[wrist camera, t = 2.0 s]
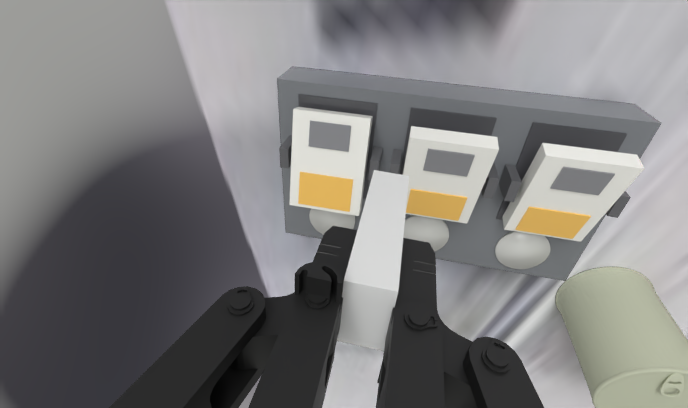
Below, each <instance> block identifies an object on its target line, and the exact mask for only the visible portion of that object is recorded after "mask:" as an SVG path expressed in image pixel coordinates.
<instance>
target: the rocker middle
mask: <svg viewBox="0 0 688 408" xmlns="http://www.w3.org/2000/svg"><path fill="white" fill-rule="evenodd" d="M498 151H499V145H498V138H497V137H494V136H486V135H478V134H470V133H462V132H454V131H446V130H439V129H431V128H423V127H415V126H411V130H410V136H409V141H408V147H407V152H406V158H405V163H404V169H403V174H402V175H407V176H409V182H408V193H407V204H406V214H410V215H416V216H422V217H429V218H435V219H441V220H447V221H454V222H460V223H466V224H467V223H468V220H469V218H470V216H471V213H472V211H473V209H474V206H475V204H476V202H477V200H478V197H479V195H480V193H481V190H482V188H483V186H484V183H485V181H486V179H487V176H488V174H489V172H490V169H491V167H492V165H493V162H494V160H495V158H496V155H497V153H498Z"/></svg>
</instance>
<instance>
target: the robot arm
mask: <svg viewBox="0 0 688 408" xmlns="http://www.w3.org/2000/svg"><path fill="white" fill-rule="evenodd" d="M408 182H409V176H407V175H401V174H395V173H389V172H383V171H377V170H374V172H373V175H372V179H371V183H370V186H369V190H368V194H367V197H366V201H365V205H364V208H363V212H362V216H361V219H360V223H359V227H358V230H354V229H349V228H343V227H338V226H332V227H331V228H330V229H329V230H327V231H326V232H325V233H324V235H323V238H322V240H321V243H320V245H319V248H318V250H317V253H316V255H315V258H314V260H313V262H312V263H308V264H305V265H304V266H302V267H300V268H299V269H298V270H297V272H296V273H295V292H294V293H293V294H290V295H287V296H282V297H271V298H264V296H263V294H262V293H261V292H260V291H258V290H257V289H255V288H251V287H237V288H234V289H231V290H229V291H228V292H226V293H225V294H223V295H222V296H221V297H220V298H219V299H218V300H217V301H216V302H215V303H214V304H213V305H212V306H211V307H210V308H209V309H208V310H207V311H206V312H205V313H204V314H203V315H202V316H201V317H200V318H199V319H198V320H197V321H196V322H195V323H194V324H193V325H192V326H191V327H190V328H189V329H188V330H187V331H186V332H185V333H184V334H183V335H182V336H181V337H180V338H179V339H178V340H177V341H176V342H175V343H174V344H173V345H172V346H171V347H170V348H169V349H168V350H167V351H166V352H165V353H164V354H163V355H162V356H161V357H160V358H159V359H158V360H157V361H156V362H155V363H154V364H153V365H152V366H151V367H150V368H149V369H148V370H147V371H146V372H145V373H144V374H143V375H142V376H141V377H140V378H139V379H138V380H137V381H136V382H135V383H134V384H133V385H132V386H131V387H130V388H129V389H127V390H126V392H124V394H123V395H122V396H121V397H119V399H117V401H115V402H114V404H112V405H111V406H110V407H109V408H239V406H240V405H241V403H242V402H243V400H244V399H245V398H246V396H247V395H248V393H249V392H250V390H251V389H252V387H253V386H254V385H255V383H256V382H257V380H258V379H259V378H260V376H261V375H262V376H261V379H260V381H259V383H258V386H257V388H256V391H255V393H254V396H253V398H252V400H251V403H250V405H249V408H322V405H323V401H324V397H325V393H326V389H327V384H328V380H329V376H330V372H331V368H332V364H333V360H334V352H335V346H336V342H337V341H339V342H343V343H347V344H352V345H356V346H361V347H365V348H370V349H374V350H378V351H383V352H384V356H383V362H382V366H381V370H380V374H379V378H378V382H377V383H379V387H378V395H377V403H376V408H544V407H543V404H542V402H541V400H540V398H539V396H538V394H537V392H536V390H535V388H534V386H533V384H532V382H531V380H530V378H529V376H528V374H527V372H526V370H525V368H524V366H523V363H522V361H521V360H520V358H519V357H518V355H517V354H516V352H515V351H514V350H513V349H512V348H511V347H509V346H508V345H507V344H506V343H504V342H502V341H500V340H498V339H496V338H490V337H482V338H477V339H476V340H475V341H473V342H472V341H470V340H468V339H466V338H464V337H462V336H460V335H458V334H456V333H455V332H453V331H451V330H450V329H449V328H448V327H447V326H446V325H445V324H444V323H443V322H442V320H441V319H440V317H439V315H438V312H437V300H436V275H435V274H436V266H435V264H436V262H435V252H434V250H433V248H432V247H431V245H430V243H429V242H423V241H418V240H413V239H407V238H403V236H404V225H405V214H406V204H407V193H408Z"/></svg>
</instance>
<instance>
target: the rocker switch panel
mask: <svg viewBox="0 0 688 408" xmlns="http://www.w3.org/2000/svg"><path fill="white" fill-rule="evenodd" d="M277 87H278V105H279V123H280V140H281V147H280V165H281V168H282V176H283V194H284V212H285V230H286V233H292V234H297V235H303V236H309V237H315V238H321V239H322V238H323V235H324V233H325V232H326V231H327V230H329V229H330V228H331V227H332V226H338V227H343V228H349V229H354V230H358V227H359V223H360V219H361V216H362V212H363V208H364V205H365V201H366V197H367V194H368V190H369V186H370V183H371V179H372V175H373V172H374V170H377V171H383V172H389V173H395V174H401V175H402V174H403V169H404V163H405V158H406V152H407V147H408V141H409V136H410V130H411V126H415V127H423V128H431V129H439V130H446V131H454V132H462V133H470V134H478V135H486V136H494V137H497V138H498V145H499V151H498V153H497V155H496V158H495V160H494V162H493V165H492V167H491V169H490V172H489V174H488V176H487V179H486V181H485V183H484V186H483V188H482V190H481V193H480V195H479V197H478V200H477V202H476V204H475V206H474V209H473V211H472V213H471V216H470V218H469V220H468V223H467V224H466V223H460V222H454V221H447V220H441V219H435V218H429V217H422V216H416V215H410V214H405V225H404V236H403V238H407V239H413V240H418V241H423V242H429V243H430V245H431V247H432V248H433V250H434V252H435V258H436V259H442V260H447V261H453V262H459V263H465V264H471V265H476V266H482V267H488V268H494V269H499V270H505V271H511V272H517V273H523V274H528V275H534V276H540V277H546V278H551V279H557V280H563V281H566V279H567V277H568V276H569V274H570V272H571V271H572V269H573V268H574V266H575V264H576V263H577V261H578V259H579V258H580V256H581V254H582V253H583V251H584V249H585V248H586V246H587V245H588V243H589V241H590V240H591V238H592V236H593V235H594V233H595V231H596V230H597V228H598V227H599V225H600V223H601V222H602V220H603V218H604V217H605V215H606V214H607V216H611V217H617V218H618V216H619V215H620V213H621V212H622V210H623V209H624V207H625V205H626V204H627V202H628V201H629V199H630V196H629V195H628V194H627V193H626V192H624V193H623V194H622V195H621V196H620V197H619V199H618V200H617V201H616V202H615V203H614V204H613V205H612V207H611V208H610V209H609V210H608V211H607V212H606V213H605V215H604V216H603V217H602V218H601V219H600V220H599V221H598V223H597V224H596V225H595V226H594V227H593V228H592V229H591V231H590V232H589V233H588V234H587V235H586V236H585V237H584V239H583V240H582V241H581V242H580V241H573V240H567V239H561V238H554V237H548V236H542V235H535V234H529V233H523V232H517V231H510V230H504V225H503V215H504V213H505V211H506V209H507V207H508V206H509V204H510V202H514V200H515V198H516V195H517V193H518V190H519V188H520V185H521V183H522V180H523V178H524V176H525V174H526V172H527V170H528V169H529V167H530V165H531V163H532V161H533V159H534V157H535V156H536V154H537V152H538V150H539V148H540V146H541V144H542V143H549V144H557V145H565V146H573V147H581V148H588V149H596V150H604V151H612V152H620V153H628V154H636V155H638V157H639V159H640V158H641V156H642V154H643V153H644V151H645V150H646V148H647V146H648V145H649V143H650V141H651V140H652V138H653V136H654V135H655V133H656V131H657V130H658V128H659V127H660V125H661V122H659V121H658V120H656V119H655V118H654V117H652V116H651V115H649V114H648V113H647V112H645V111H644V110H642V109H641V108H639V107H638V106H637V105H635V104H630V103H621V102H612V101H603V100H594V99H585V98H575V97H566V96H557V95H548V94H539V93H530V92H521V91H512V90H503V89H494V88H484V87H475V86H466V85H457V84H448V83H439V82H430V81H421V80H412V79H403V78H393V77H384V76H375V75H366V74H357V73H348V72H339V71H330V70H321V69H312V68H302V67H291V68H290V69H289V70H288V71H286V72H285V73H284V74H282V75H281V76H280V77H279V78H277ZM297 107H304V108H312V109H320V110H328V111H336V112H344V113H352V114H360V115H368V116H373V119H372V127H371V135H370V143H369V151H368V159H367V166H366V174H365V182H364V190H363V198H362V206H361V211H360V214H359V216H355V215H349V214H342V213H336V212H330V211H324V210H318V209H312V208H306V207H299V206H293V205H289V203H290V178H291V152H292V127H293V109H294V108H297Z"/></svg>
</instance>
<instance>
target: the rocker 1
mask: <svg viewBox="0 0 688 408" xmlns="http://www.w3.org/2000/svg"><path fill="white" fill-rule="evenodd" d="M372 119H373V116H368V115H360V114H352V113H344V112H336V111H328V110H320V109H312V108H304V107H297V108H294V109H293V127H292V152H291V178H290V203H289V205H293V206H299V207H306V208H312V209H318V210H324V211H330V212H336V213H342V214H349V215H355V216H359V214H360V211H361V206H362V198H363V190H364V182H365V174H366V166H367V159H368V151H369V143H370V135H371V127H372Z"/></svg>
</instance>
